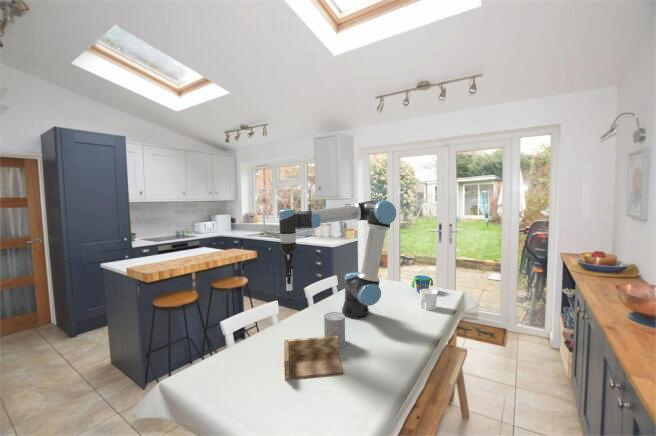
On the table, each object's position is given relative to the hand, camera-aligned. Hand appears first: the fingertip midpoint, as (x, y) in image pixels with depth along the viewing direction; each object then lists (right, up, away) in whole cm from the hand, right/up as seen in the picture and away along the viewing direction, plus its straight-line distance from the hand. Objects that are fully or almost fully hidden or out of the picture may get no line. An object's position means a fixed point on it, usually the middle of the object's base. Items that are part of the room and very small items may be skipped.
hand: (289, 286), depth 147 cm
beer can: (+21, -24, -7) cm, 33 cm away
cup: (+77, -21, +34) cm, 87 cm away
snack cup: (+83, -18, +64) cm, 106 cm away
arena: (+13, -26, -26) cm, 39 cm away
